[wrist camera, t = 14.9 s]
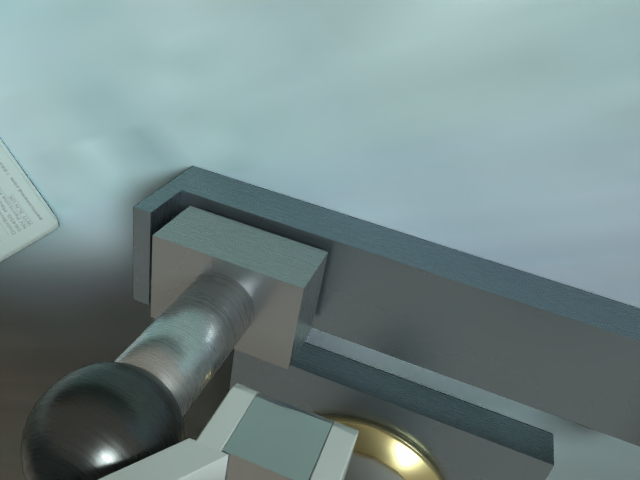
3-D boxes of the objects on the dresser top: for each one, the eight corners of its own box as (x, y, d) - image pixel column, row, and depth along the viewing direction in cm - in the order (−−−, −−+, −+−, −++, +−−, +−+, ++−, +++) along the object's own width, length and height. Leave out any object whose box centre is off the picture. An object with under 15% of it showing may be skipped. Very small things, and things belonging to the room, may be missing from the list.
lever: (328, 248, 15) (161, 498, 8) (311, 331, 16) (157, 598, 10) (190, 202, 16) (-61, 398, 9) (185, 285, 17) (-35, 505, 11)
